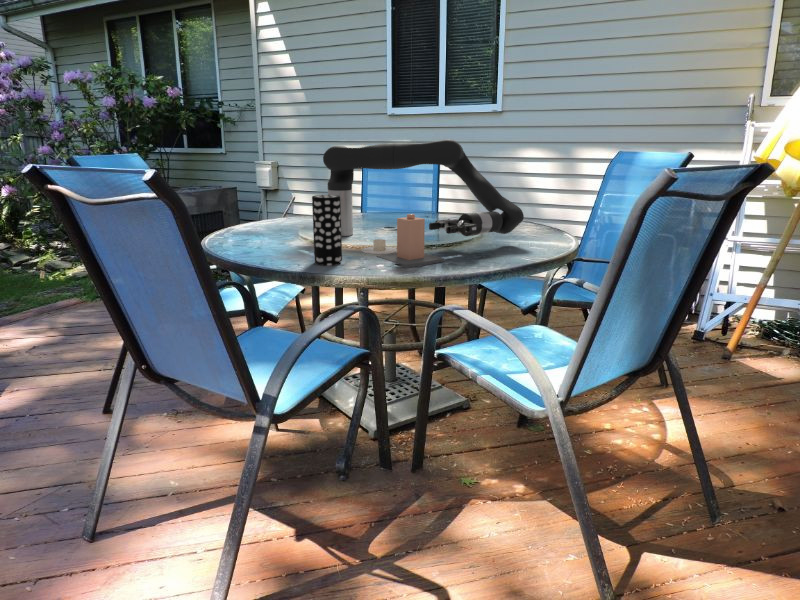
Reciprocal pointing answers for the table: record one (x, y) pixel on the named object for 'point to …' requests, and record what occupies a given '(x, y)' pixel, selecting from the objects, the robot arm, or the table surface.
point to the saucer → (371, 250)
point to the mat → (414, 262)
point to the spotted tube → (327, 229)
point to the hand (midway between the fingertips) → (438, 228)
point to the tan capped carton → (410, 237)
